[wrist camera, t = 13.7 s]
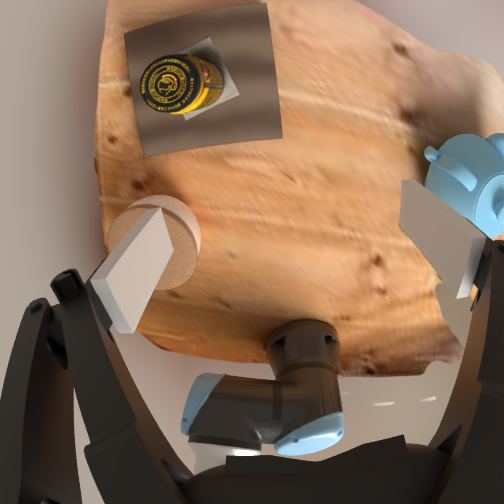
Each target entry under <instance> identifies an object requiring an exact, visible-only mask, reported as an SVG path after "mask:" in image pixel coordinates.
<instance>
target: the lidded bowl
mask: <svg viewBox="0 0 504 504" xmlns="http://www.w3.org/2000/svg"><path fill="white" fill-rule="evenodd" d="M158 207H161V210H162V213H163V217H164V220H165V223H166V227H167V230H168V233H169V237H170V240H171V243H172V246H173V250H174V251H173V253H172V255H171V257H170V259H169V261H168V263H167V265H166V267H165V269H164V271H163V273H162V275H161V277H160V279H159V281H158V283H157V285H156V287H155V289H154V290H167V289H172V288H175V287H178V286H180V285H182V284H183V283H185V282H186V281H187V280H188V279H189V278H190V277H191V275H192V273H193V271H194V269H195V266H196V263H197V257H198V254H199V250H200V242H201V236H200V228H199V224H198V222H197V219H196V217H195V215H194V213H193V212H192V211H191V209H190V208H189V207H188V206H187V205H186V204H184V203H183V202H182V201H180V200H178V199H176V198H174V197H171V196H167V195H151V196H147V197H144V198H141V199H139V200H138V201H136V202H134V203H133V204H131V205H130V206H129V207H128V208H126V209H125V210H124V211H122V212H121V213H120V214H119V215H118V216H117V217H116V218H115V219H114V221H113V222H112V224H111V226H110V228H109V231H108V238H107V241H108V249H109V253H110V254H111V252H112V251H113V250H114V249H115V247H116V246H117V245H118V244H119V243H120V241H121V240H122V239H123V238H124V237H125V235H126V234H127V233H128V232H129V231H130V230H131V228H132V227H133V226H134V225H135V224H136V223H137V222H138V220H139V219H140V218H141V217H142V216H143V215H144V214H145V213H146V211H147V210H148V209H153V208H158Z"/></svg>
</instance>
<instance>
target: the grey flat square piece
mask: <svg viewBox="0 0 504 504" xmlns="http://www.w3.org/2000/svg"><path fill="white" fill-rule="evenodd" d="M209 37H210V39H211V40H212V42H213V44H214V46H215V48H216V49H217V51H218V53H219V55H220V57H221V59H222V61H223V63H224V65H225V67H226V68H227V70H228V72H229V74H230V76H231V78H232V80H233V82H234V84H235V86H236V88H237V90H238V92H239V94H240V95H238V96H235V97H233V98H231V99H229V100H227V101H224V102H222V103H220V104H218V105H216V106H214V107H212V108H210V109H208V110H206V111H204V112H202V113H200V114H198V115H196V116H194V117H192V118H190V119H188V120H185V118H184V116H183V114H170V113H162V112H158V111H155V110H154V109H152V108H151V107H150V106H148V105H147V104H146V103H145V101H144V100H143V97H142V95H141V92H140V79H141V77H142V75H143V73H144V71H145V69H146V68H147V67H148V65H149V64H151V63H152V62H153V61H155V60H156V59H158V58H160V57H162V56H166V55H172V54H179V53H180V52H182V51H184V50H186V49H187V48H189V47H191V46H193V45H195V44H197V43H199V42H201V41H203V40H204V39H207V38H209ZM124 38H125V47H126V55H127V63H128V70H129V77H130V83H131V89H132V95H133V101H134V107H135V112H136V118H137V123H138V128H139V133H140V138H141V143H142V148H143V152H144V157H145V158H146V157H151V156H156V155H161V154H166V153H172V152H177V151H183V150H189V149H195V148H201V147H208V146H215V145H223V144H231V143H239V142H248V141H258V140H269V139H282V138H283V135H282V125H281V115H280V105H279V96H278V87H277V78H276V69H275V61H274V53H273V45H272V38H271V31H270V24H269V17H268V10H267V3H259V4H248V5H240V6H232V7H225V8H219V9H213V10H208V11H203V12H198V13H193V14H189V15H184V16H180V17H176V18H172V19H169V20H165V21H161V22H158V23H155V24H151V25H148V26H145V27H142V28H139V29H136V30H133V31H130V32H128V33H125V34H124Z"/></svg>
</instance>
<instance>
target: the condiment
mask: <svg viewBox="0 0 504 504" xmlns="http://www.w3.org/2000/svg"><path fill="white" fill-rule="evenodd" d="M140 92H141V95H142V97H143V100H144V101H145V103H146V104H147V105H148V106H150V107H151V108H152V109H154V110H155V111H158V112H162V113H170V114H183V116H184V118H185V120H188V119H190V118H192V117H194V116H196V115H198V114H200V113H202V112H204V111H206V110H208V109H210V108H212V107H214V106H216V105H218V104H220V103H222V102H224V101H227V100H229V99H231V98H233V97H235V96H238V95H240V94H239V92H238V90H237V88H236V86H235V84H234V82H233V80H232V78H231V76H230V74H229V72H228V70H227V68H226V67H225V65H224V63H223V61H222V59H221V57H220V55H219V53H218V51H217V49H216V48H215V46H214V44H213V42H212V40H211V39H210V37H209V38H207V39H204V40H203V41H201V42H199V43H197V44H195V45H193V46H191V47H189V48H187V49H186V50H184V51H182V52H180V53H179V54H172V55H166V56H162V57H160V58H158V59H156V60H155V61H153V62H152V63H151V64H149V65H148V67H147V68H146V69H145V71H144V73H143V75H142V77H141V79H140Z"/></svg>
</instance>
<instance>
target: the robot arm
mask: <svg viewBox="0 0 504 504" xmlns="http://www.w3.org/2000/svg"><path fill="white" fill-rule="evenodd" d="M399 226H400V227H401V229H402V230H403V231H404V232H405V233H406V234H407V236H408V237H409V238H410V239H411V240H412V242H413V243H414V244H415V245H416V246H417V248H418V249H419V250H420V251H421V253H422V254H423V255H424V256H425V258H426V259H427V260H428V261H429V263H430V264H431V265H432V267H433V268H434V269H435V271H436V272H437V273H438V274H439V276H440V277H441V279H442V280H443V281H444V283H445V284H446V285H447V287H448V288H449V290H450V291H451V292H452V294H453V295H454V297H455V298H456V299H458V298H462V297H466V296H469V295H470V293H471V290H472V287H473V284H475V286H476V287H477V288H478V291H477V294H476V296H475V299H474V302H473V304H472V307H471V310H470V311H473V314H472V320H471V325H470V330H469V334H468V339H467V343H466V347H465V351H464V355H463V359H462V362H461V366H460V369H459V373H458V376H457V379H456V383H455V385H454V388H453V391H452V394H451V397H450V400H449V403H448V405H447V408H446V411H445V413H444V416H443V418H442V421H441V423H440V426H439V428H438V430H437V432H436V434H435V436H434V437H433V439H432V440H431V442H430V443H429V445H428V446H425V445H420V444H408V443H407V444H406V442H405V438H404V435H399V436H396V437H392V438H388V439H384V440H379V441H375V442H370V443H366V444H362V445H360V446H358V447H355V448H353V449H351V450H348V451H346V452H343V453H341V454H338V455H336V456H333V457H331V458H328V459H326V460H322V461H318V462H313V461H305V460H298V459H291V458H284V457H278V456H273V455H259V454H260V453H261V444H274V448H275V450H276V452H277V453H278V454H281V455H282V454H284V455H302V454H308V453H312V452H316V451H319V450H322V449H325V448H327V447H330V446H331V445H333V444H335V443H336V442H337V441H339V440H340V439H341V438H342V436H343V434H344V412H343V409H342V402H341V397H340V390H339V384H338V379H337V373H336V368H337V363H338V358H339V352H340V341H339V337H338V334H337V332H336V330H335V329H334V328H333V327H331V326H330V325H328V324H326V323H324V322H320V321H315V320H301V321H295V322H291V323H288V324H286V325H283V326H281V327H280V328H278V329H276V330H275V331H274V332H273V333H272V334H271V335H270V337H269V338H268V340H267V344H266V354H267V359H268V361H269V364H270V366H271V368H272V371H273V373H274V376H275V380H266V379H255V378H246V377H238V376H231V375H227V374H213V373H203V374H201V375H199V376H198V377H197V378H196V379H195V381H194V383H193V385H192V387H191V389H190V392H189V395H188V397H187V400H186V404H185V407H184V411H183V418H182V422H181V432H182V433H183V434H185V435H187V436H188V435H189V440H188V446H189V447H190V448H191V449H192V451H193V452H194V453H195V455H196V459H195V467H194V474H192V473H191V471H190V470H189V469H188V468H187V467H186V466H185V465H184V464H183V462H182V461H181V460H180V459H179V457H178V456H177V455H176V453H175V451H174V450H173V448H172V447H171V445H170V444H169V442H168V441H167V439H166V437H165V436H164V434H163V433H162V431H161V430H160V428H159V426H158V424H157V423H156V421H155V419H154V418H153V416H152V414H151V412H150V411H149V409H148V407H147V405H146V404H145V402H144V400H143V398H142V396H141V394H140V393H139V390H138V389H137V387H136V385H135V383H134V381H133V379H132V377H131V375H130V373H129V371H128V368H127V367H126V364H125V362H124V360H123V358H122V356H121V353H120V351H119V349H118V347H117V344H116V342H115V340H114V337H113V335H112V334H111V332H110V330H109V329H110V327H111V325H112V323H113V325H114V326H115V328H116V330H117V331H118V333H134V331H135V329H136V327H137V325H138V323H139V320H140V318H141V316H142V314H143V312H144V310H145V307H146V305H147V303H148V301H149V299H150V297H151V295H152V293H153V291H154V289H155V287H156V285H157V283H158V281H159V279H160V277H161V275H162V273H163V271H164V269H165V267H166V265H167V263H168V261H169V259H170V257H171V255H172V253H173V251H174V250H173V246H172V243H171V240H170V237H169V233H168V230H167V227H166V223H165V220H164V217H163V213H162V210H161V207H158V208H153V209H148V210H147V211H146V213H145V214H144V215H143V216H142V217H141V218H140V219H139V220H138V222H137V223H136V224H135V225H134V226H133V227H132V228H131V230H130V231H129V232H128V233H127V234H126V235H125V237H124V238H123V239H122V240H121V241H120V243H119V244H118V245H117V246H116V247H115V249H114V250H113V251H112V252H111V254H110V255H109V256H108V257H107V258H105V259H104V260H103V261H102V262H101V264H100V265H99V266H98V268H97V269H96V270H95V271H94V273H93V274H92V275H91V276H90V278H89V279H88V280H87V282H86V283H85V284H84V283H83V281H82V279H81V277H80V275H79V273H78V271H77V270H76V269H68V270H66V271H63V272H62V273H60V274H58V275H57V276H56V277H55V278H54V279H53V280H52V282H51V284H50V286H51V288H52V290H53V292H54V293H55V295H56V296H57V299H58V300H59V302H60V304H57V305H54V306H50V304H49V302H48V301H47V299H46V298H39V299H37V300H34V301H32V302H31V303H30V304H29V306H28V307H27V308H26V310H25V312H24V315H23V318H22V320H21V323H20V327H19V329H18V332H17V335H16V339H15V342H14V345H13V349H12V352H11V356H10V359H9V363H8V367H7V371H6V375H5V380H4V384H3V389H2V394H1V399H0V504H82V498H81V490H80V483H79V476H78V469H77V459H76V450H75V435H74V409H73V408H74V402H73V401H74V397H73V395H74V393H73V392H74V390H73V389H74V388H75V393H76V397H77V400H78V404H79V407H80V410H81V414H82V417H83V420H84V423H85V427H86V430H87V433H88V436H89V439H90V444H89V445H87V446H85V448H84V453H85V458H86V460H87V463H88V465H89V468H90V471H91V473H92V476H93V478H94V481H95V483H96V486H97V488H98V490H99V492H100V494H101V496H102V499H103V501H104V503H105V504H504V241H503V240H494V241H493V240H492V239H491V238H489V237H488V236H487V235H486V234H485V233H484V232H483V231H482V230H479V228H478V227H477V226H476V225H474V224H473V223H472V222H471V221H470V220H469V219H467V218H465V217H463V216H462V215H461V214H459V213H458V212H457V211H456V210H454V209H453V208H452V207H450V206H449V205H448V204H447V203H445V202H444V201H443V200H441V199H440V198H439V197H437V196H436V195H435V194H433V193H432V192H431V191H429V190H428V189H426V188H425V187H424V186H422V185H421V184H419V183H418V182H416V181H415V180H402V188H401V207H400V220H399Z"/></svg>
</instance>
